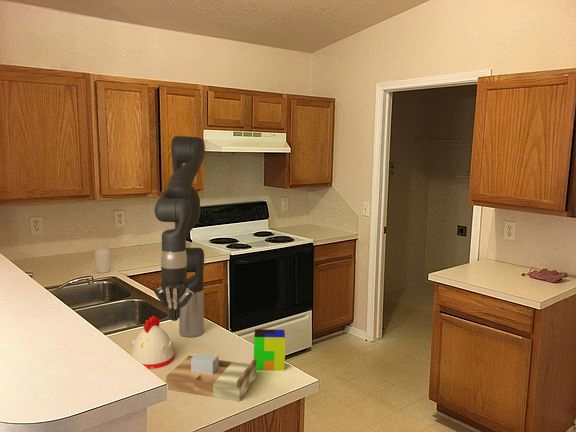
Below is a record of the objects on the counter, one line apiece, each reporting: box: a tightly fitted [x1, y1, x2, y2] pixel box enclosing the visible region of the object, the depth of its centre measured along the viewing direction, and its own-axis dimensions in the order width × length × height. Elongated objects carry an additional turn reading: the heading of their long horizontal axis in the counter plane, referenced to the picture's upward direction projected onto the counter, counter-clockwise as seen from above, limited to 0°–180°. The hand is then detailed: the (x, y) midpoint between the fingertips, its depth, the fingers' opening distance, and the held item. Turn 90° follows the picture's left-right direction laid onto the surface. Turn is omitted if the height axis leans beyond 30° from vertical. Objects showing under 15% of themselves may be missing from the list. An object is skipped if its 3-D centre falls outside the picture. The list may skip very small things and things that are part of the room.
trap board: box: [165, 355, 257, 402], centre depth 146 cm, size 15×23×6 cm, turn 75°
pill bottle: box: [94, 243, 112, 274], centre depth 268 cm, size 8×8×15 cm
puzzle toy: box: [253, 328, 286, 372], centre depth 160 cm, size 10×10×10 cm
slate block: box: [191, 352, 220, 375], centre depth 146 cm, size 4×7×4 cm, turn 75°
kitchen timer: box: [130, 315, 175, 370], centre depth 160 cm, size 14×14×15 cm
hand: (174, 319), depth 147 cm, fingers closed
